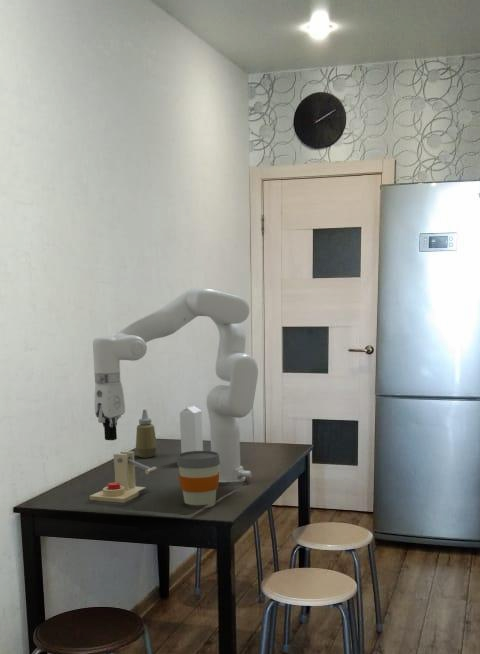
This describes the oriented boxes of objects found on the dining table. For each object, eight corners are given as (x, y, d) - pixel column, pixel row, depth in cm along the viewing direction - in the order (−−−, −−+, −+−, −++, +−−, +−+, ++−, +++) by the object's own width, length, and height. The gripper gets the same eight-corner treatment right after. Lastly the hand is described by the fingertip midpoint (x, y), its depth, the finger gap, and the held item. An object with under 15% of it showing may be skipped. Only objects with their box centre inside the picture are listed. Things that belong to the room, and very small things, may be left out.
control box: (139, 498, 260) (138, 486, 260) (123, 506, 252) (123, 492, 251) (105, 495, 265) (105, 483, 264) (89, 502, 257) (88, 490, 256)
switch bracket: (146, 490, 270) (144, 451, 268) (133, 496, 263) (131, 456, 260) (119, 488, 274) (116, 449, 272) (105, 494, 267) (103, 454, 264)
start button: (122, 488, 259) (121, 482, 259) (115, 491, 256) (115, 485, 255) (112, 487, 260) (111, 481, 260) (105, 490, 257) (105, 484, 257)
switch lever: (156, 473, 266) (157, 466, 265) (148, 476, 261) (150, 469, 260) (123, 458, 269) (125, 451, 269) (115, 462, 265) (117, 455, 264)
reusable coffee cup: (226, 507, 247) (224, 457, 245) (184, 511, 244) (181, 460, 241) (215, 497, 259) (213, 449, 257) (174, 501, 256) (172, 452, 253)
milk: (203, 461, 312) (201, 402, 308) (196, 464, 307) (194, 404, 303) (188, 460, 315) (186, 401, 311) (181, 463, 309) (179, 403, 305)
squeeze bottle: (161, 455, 325) (159, 408, 322) (148, 459, 318) (146, 411, 315) (145, 453, 329) (143, 407, 326) (131, 457, 323) (129, 410, 319)
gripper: (104, 382, 244) (108, 444, 247) (131, 376, 257) (134, 436, 260) (82, 381, 246) (86, 443, 250) (110, 375, 260) (113, 434, 263)
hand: (110, 439), depth 255 cm, fingers closed
